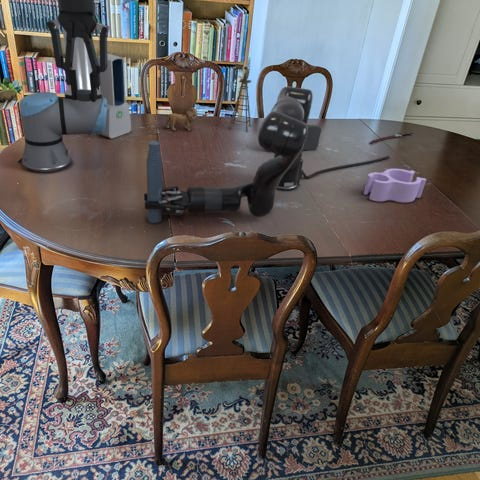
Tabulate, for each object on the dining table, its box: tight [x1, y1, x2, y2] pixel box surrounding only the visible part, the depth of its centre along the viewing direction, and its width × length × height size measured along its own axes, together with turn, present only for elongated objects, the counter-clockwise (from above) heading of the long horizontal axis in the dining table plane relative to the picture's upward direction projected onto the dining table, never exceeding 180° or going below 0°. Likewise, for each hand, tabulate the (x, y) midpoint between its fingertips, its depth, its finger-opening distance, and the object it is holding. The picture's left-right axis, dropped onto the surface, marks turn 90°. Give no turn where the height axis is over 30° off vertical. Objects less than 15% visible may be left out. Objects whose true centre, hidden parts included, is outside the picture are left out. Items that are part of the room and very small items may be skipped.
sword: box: [370, 132, 414, 145], centre depth 214 cm, size 31×3×1 cm, turn 126°
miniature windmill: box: [228, 58, 252, 132], centre depth 200 cm, size 9×8×30 cm
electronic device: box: [97, 53, 132, 139], centre depth 180 cm, size 12×8×30 cm, turn 148°
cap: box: [76, 90, 92, 102], centre depth 113 cm, size 4×4×2 cm
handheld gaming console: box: [303, 124, 322, 151], centre depth 189 cm, size 23×3×10 cm, turn 108°
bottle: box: [146, 140, 163, 224], centre depth 129 cm, size 4×4×24 cm
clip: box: [362, 168, 427, 203], centre depth 162 cm, size 20×12×7 cm, turn 109°
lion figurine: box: [162, 107, 198, 132], centre depth 197 cm, size 15×5×9 cm, turn 110°
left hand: (84, 99), depth 113 cm, fingers closed on cap, 4 cm apart
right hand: (144, 201), depth 132 cm, fingers closed on bottle, 4 cm apart
